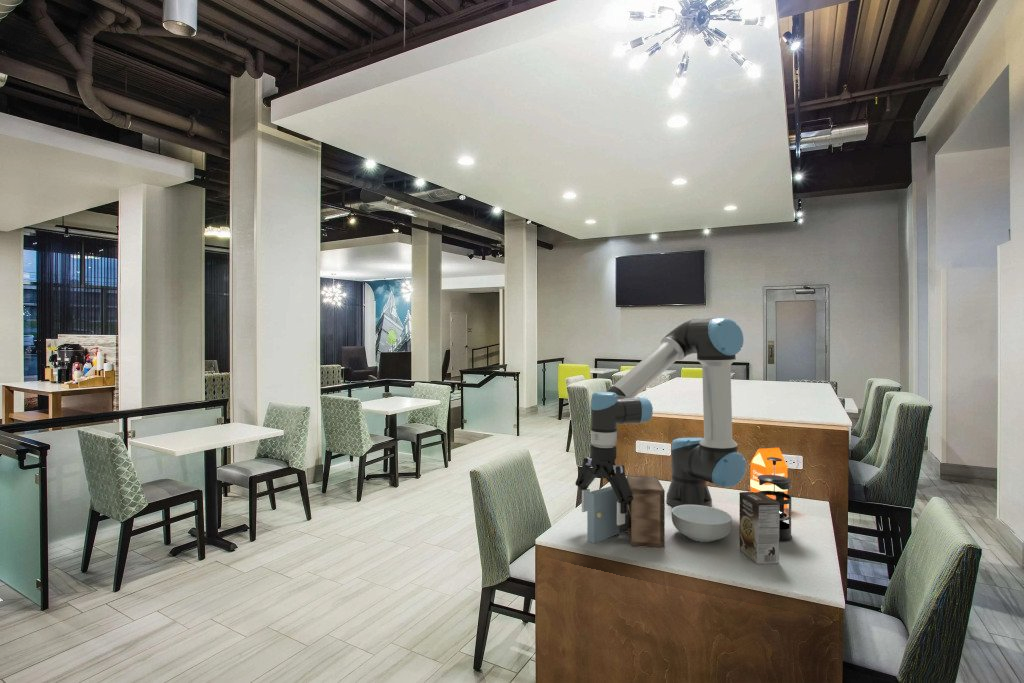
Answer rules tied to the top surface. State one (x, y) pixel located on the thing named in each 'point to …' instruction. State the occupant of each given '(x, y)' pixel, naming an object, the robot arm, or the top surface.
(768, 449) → the orange juice
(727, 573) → the top surface
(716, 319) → the robot arm
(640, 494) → the cabinet
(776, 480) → the french press
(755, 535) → the coffee box
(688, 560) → the top surface
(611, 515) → the door
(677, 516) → the cereal bowl
